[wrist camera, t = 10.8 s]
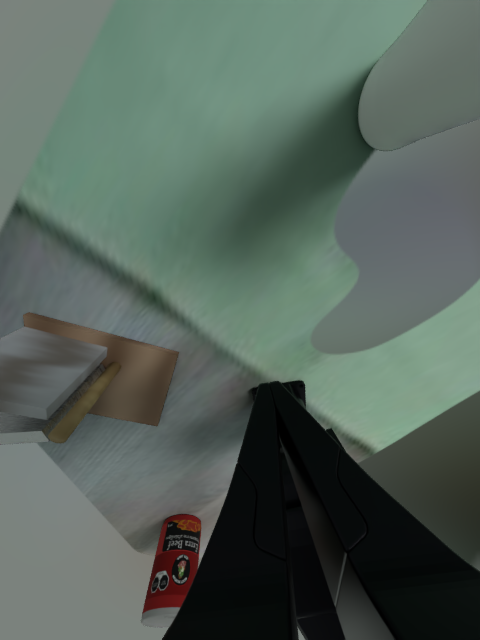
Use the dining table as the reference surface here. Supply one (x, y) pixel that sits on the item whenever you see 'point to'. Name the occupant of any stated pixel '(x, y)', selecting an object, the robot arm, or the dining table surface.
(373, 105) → the white tapered cylinder
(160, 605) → the canned food
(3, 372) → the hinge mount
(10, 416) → the swinging leaf
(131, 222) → the dining table surface
